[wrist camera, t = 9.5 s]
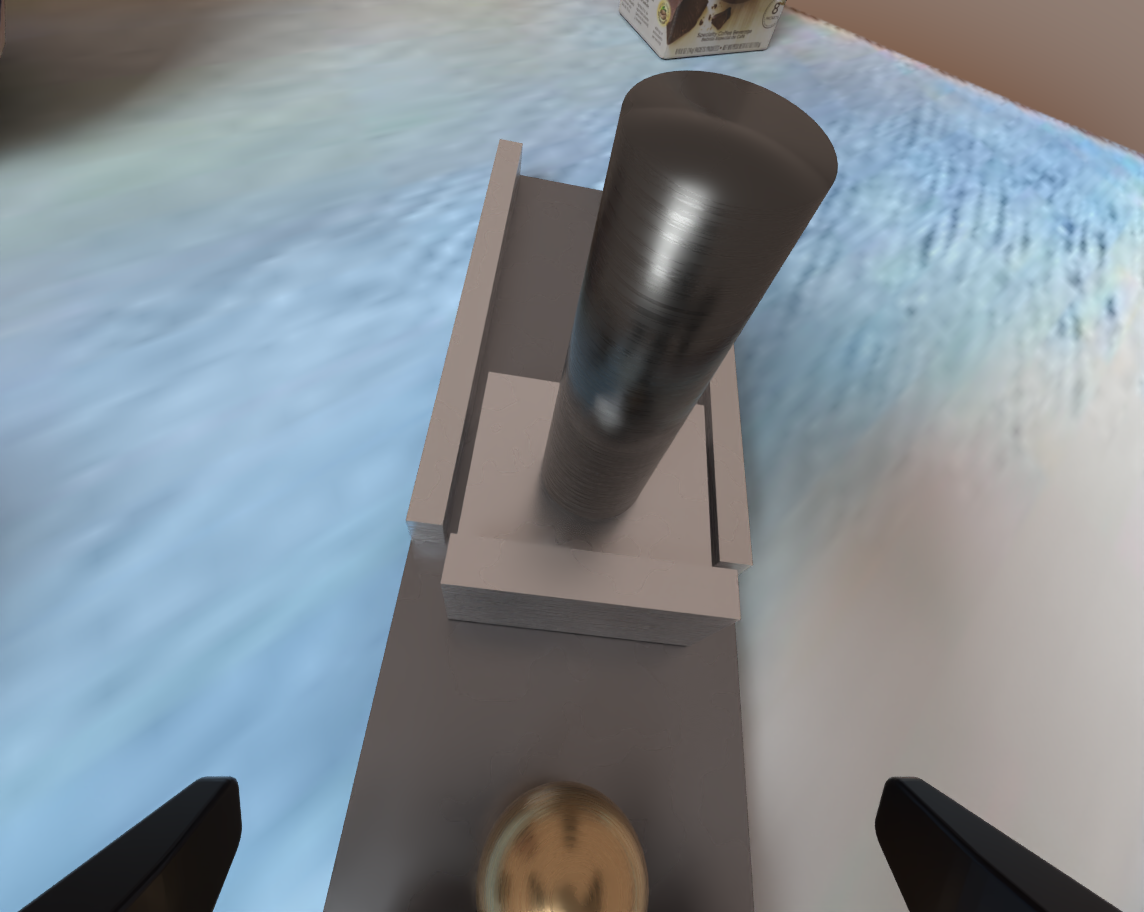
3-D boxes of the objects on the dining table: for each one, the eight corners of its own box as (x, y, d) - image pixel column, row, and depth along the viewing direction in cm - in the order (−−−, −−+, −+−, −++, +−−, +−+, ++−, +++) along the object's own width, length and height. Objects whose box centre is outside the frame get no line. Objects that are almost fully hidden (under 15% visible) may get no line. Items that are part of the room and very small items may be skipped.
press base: (739, 1104, 13) (879, 1290, 8) (293, 1089, 12) (183, 1290, 7) (696, 236, 27) (738, 136, 23) (497, 199, 26) (501, 88, 22)
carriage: (689, 646, 16) (1086, 439, 6) (448, 618, 15) (387, 326, 5) (683, 436, 19) (920, 71, 9) (487, 406, 19) (501, -24, 8)
